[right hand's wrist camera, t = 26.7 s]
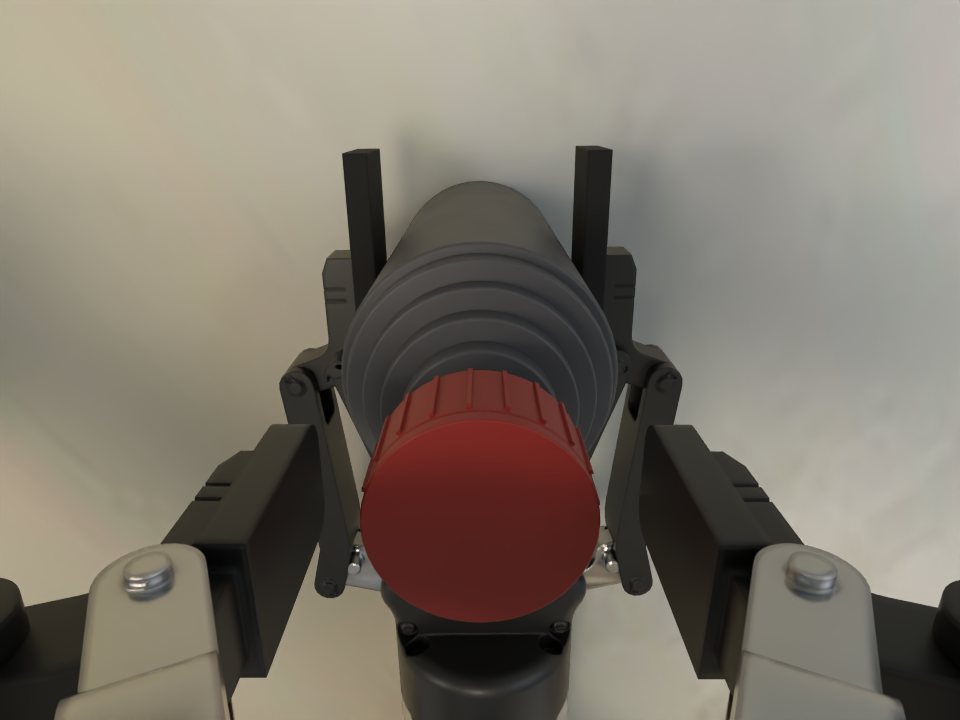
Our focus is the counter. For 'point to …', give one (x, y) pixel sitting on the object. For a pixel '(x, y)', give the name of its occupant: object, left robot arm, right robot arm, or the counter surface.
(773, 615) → the right robot arm
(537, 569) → the cap
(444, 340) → the bottle
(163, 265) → the counter surface
